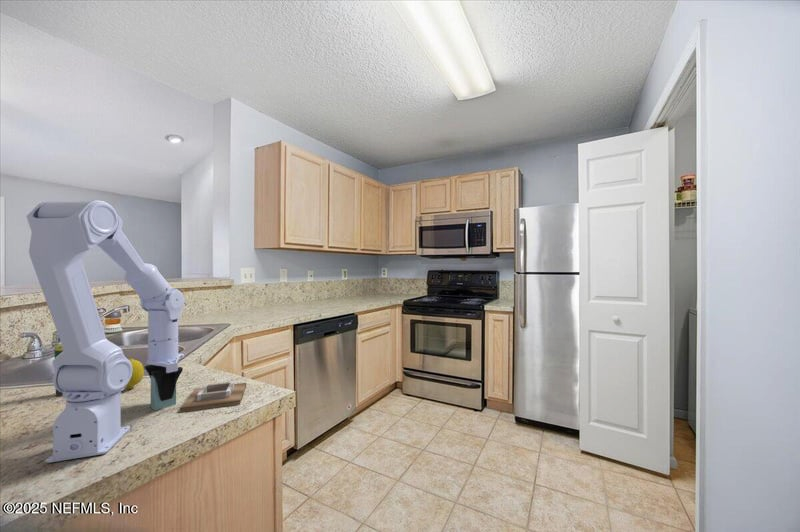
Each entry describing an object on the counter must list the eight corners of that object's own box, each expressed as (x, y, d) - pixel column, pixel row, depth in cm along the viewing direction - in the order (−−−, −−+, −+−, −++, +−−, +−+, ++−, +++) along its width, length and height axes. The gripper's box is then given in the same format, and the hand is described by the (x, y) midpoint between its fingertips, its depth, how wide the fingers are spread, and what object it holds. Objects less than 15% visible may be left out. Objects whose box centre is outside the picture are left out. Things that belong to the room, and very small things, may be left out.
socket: (240, 404, 74) (240, 393, 74) (180, 412, 70) (180, 401, 70) (246, 386, 86) (246, 377, 86) (195, 392, 82) (195, 382, 82)
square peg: (176, 404, 74) (176, 374, 74) (155, 410, 71) (155, 379, 71) (171, 399, 77) (171, 371, 77) (150, 405, 74) (150, 375, 74)
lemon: (149, 385, 87) (149, 356, 87) (130, 393, 81) (130, 362, 81) (130, 384, 87) (130, 355, 87) (110, 392, 82) (110, 361, 82)
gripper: (193, 340, 73) (193, 399, 73) (174, 332, 82) (174, 384, 82) (155, 346, 67) (155, 409, 67) (139, 336, 77) (139, 392, 77)
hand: (163, 396), depth 74 cm, fingers open, 4 cm apart
